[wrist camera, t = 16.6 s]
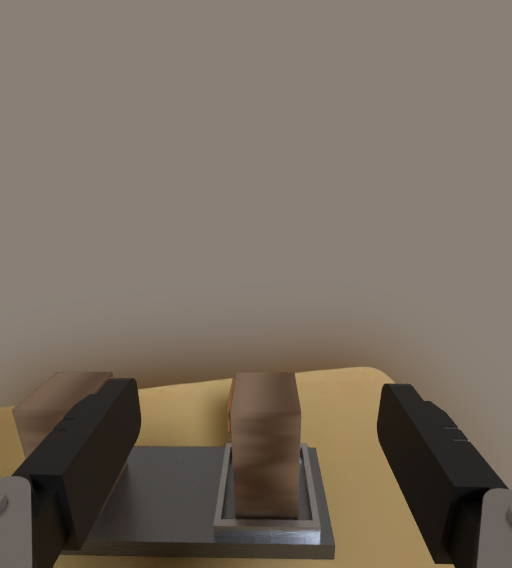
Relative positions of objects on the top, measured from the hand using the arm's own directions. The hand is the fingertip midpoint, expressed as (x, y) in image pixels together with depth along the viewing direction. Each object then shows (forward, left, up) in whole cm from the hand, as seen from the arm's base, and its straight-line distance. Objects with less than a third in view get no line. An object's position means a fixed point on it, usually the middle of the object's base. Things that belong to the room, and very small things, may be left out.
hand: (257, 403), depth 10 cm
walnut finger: (0, +12, -18) cm, 22 cm away
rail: (-8, +12, -20) cm, 24 cm away
